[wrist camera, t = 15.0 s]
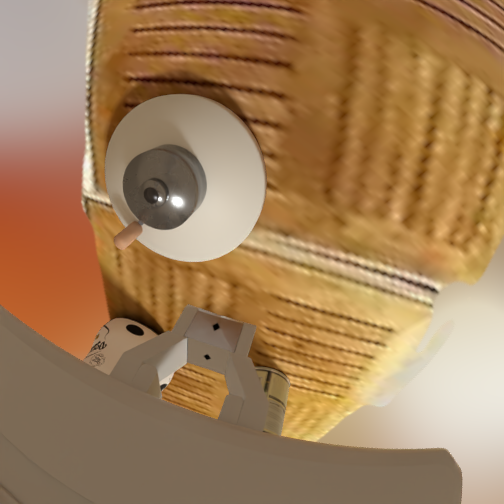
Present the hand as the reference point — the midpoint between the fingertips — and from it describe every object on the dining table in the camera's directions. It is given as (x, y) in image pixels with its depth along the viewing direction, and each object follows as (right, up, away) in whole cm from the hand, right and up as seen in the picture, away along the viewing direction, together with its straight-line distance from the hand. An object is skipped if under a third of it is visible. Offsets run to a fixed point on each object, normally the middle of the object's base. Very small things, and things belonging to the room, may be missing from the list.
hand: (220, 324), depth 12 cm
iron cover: (-8, +11, +20) cm, 24 cm away
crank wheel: (-7, +12, +22) cm, 26 cm away
